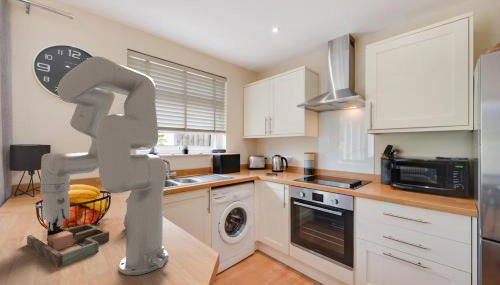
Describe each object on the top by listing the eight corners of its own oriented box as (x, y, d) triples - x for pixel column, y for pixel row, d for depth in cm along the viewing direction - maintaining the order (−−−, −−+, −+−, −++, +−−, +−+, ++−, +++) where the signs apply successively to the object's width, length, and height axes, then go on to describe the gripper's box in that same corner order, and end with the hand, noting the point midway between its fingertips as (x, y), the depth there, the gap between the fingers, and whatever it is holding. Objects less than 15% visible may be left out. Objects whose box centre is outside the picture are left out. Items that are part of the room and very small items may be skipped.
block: (72, 245, 70) (72, 233, 70) (53, 251, 66) (53, 239, 66) (66, 242, 72) (66, 230, 73) (47, 248, 68) (47, 236, 68)
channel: (118, 243, 71) (118, 235, 71) (57, 267, 57) (58, 256, 57) (82, 228, 84) (82, 221, 84) (26, 244, 71) (27, 235, 71)
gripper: (78, 188, 71) (76, 241, 71) (60, 184, 79) (59, 232, 78) (49, 192, 65) (47, 250, 64) (33, 187, 72) (31, 239, 72)
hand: (54, 240), depth 71 cm, fingers closed
